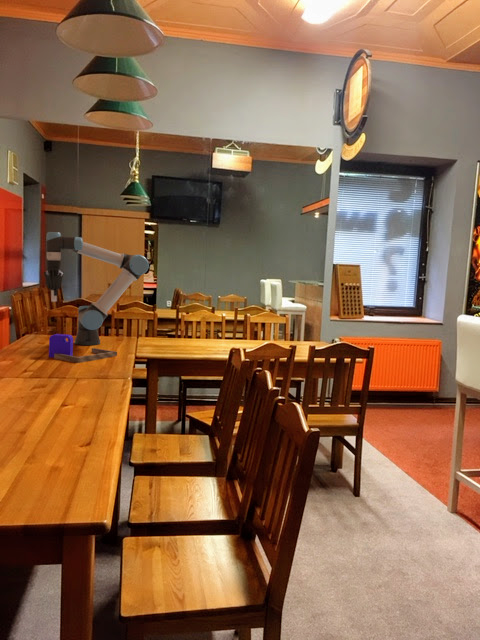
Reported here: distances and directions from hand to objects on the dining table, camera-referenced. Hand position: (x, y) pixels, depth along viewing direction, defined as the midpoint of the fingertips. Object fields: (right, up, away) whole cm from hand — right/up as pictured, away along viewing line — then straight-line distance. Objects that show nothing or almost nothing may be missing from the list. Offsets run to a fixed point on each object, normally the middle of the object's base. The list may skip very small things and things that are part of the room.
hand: (54, 301), depth 293 cm
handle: (+24, -30, -20) cm, 43 cm away
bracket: (+12, -30, -16) cm, 36 cm away
